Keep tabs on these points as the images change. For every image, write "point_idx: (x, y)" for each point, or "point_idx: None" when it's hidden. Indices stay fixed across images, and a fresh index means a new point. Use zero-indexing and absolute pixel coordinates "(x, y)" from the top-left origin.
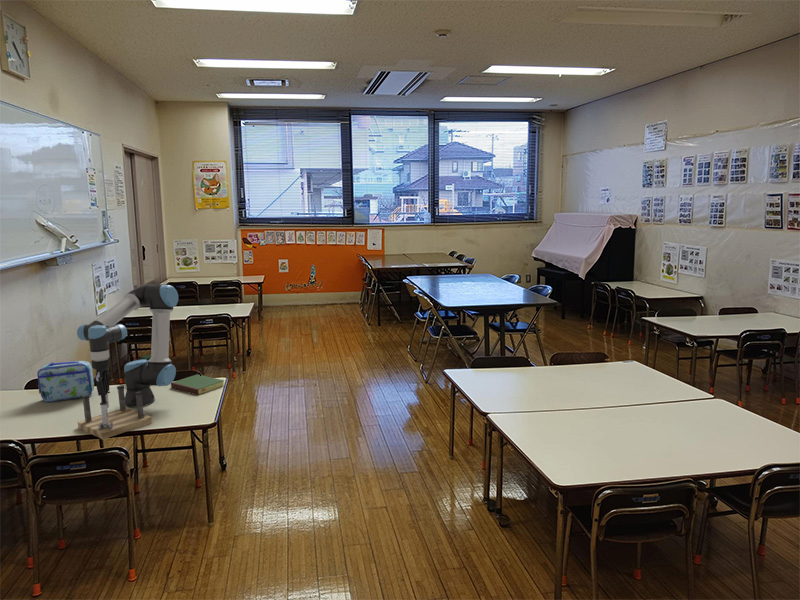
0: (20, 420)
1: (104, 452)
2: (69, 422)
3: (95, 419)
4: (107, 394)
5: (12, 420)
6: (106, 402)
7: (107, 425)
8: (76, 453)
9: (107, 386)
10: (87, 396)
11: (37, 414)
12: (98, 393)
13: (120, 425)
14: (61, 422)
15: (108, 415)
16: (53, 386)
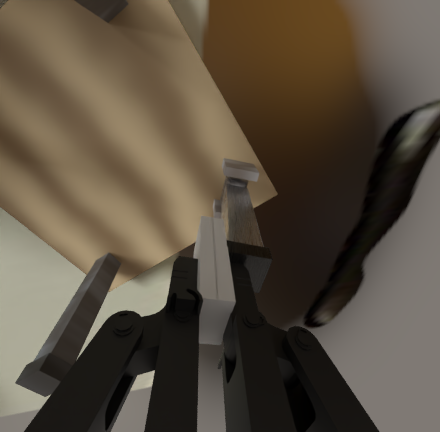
0: (26, 394)
1: (405, 161)
2: (55, 305)
3: (91, 242)
4: (211, 295)
5: (24, 404)
6: (251, 253)
7: (246, 185)
8: (348, 243)
9: (161, 400)
10: (53, 373)
11: None
12: (306, 392)
13: (208, 125)
14: (52, 322)
15: (42, 199)
16: None
